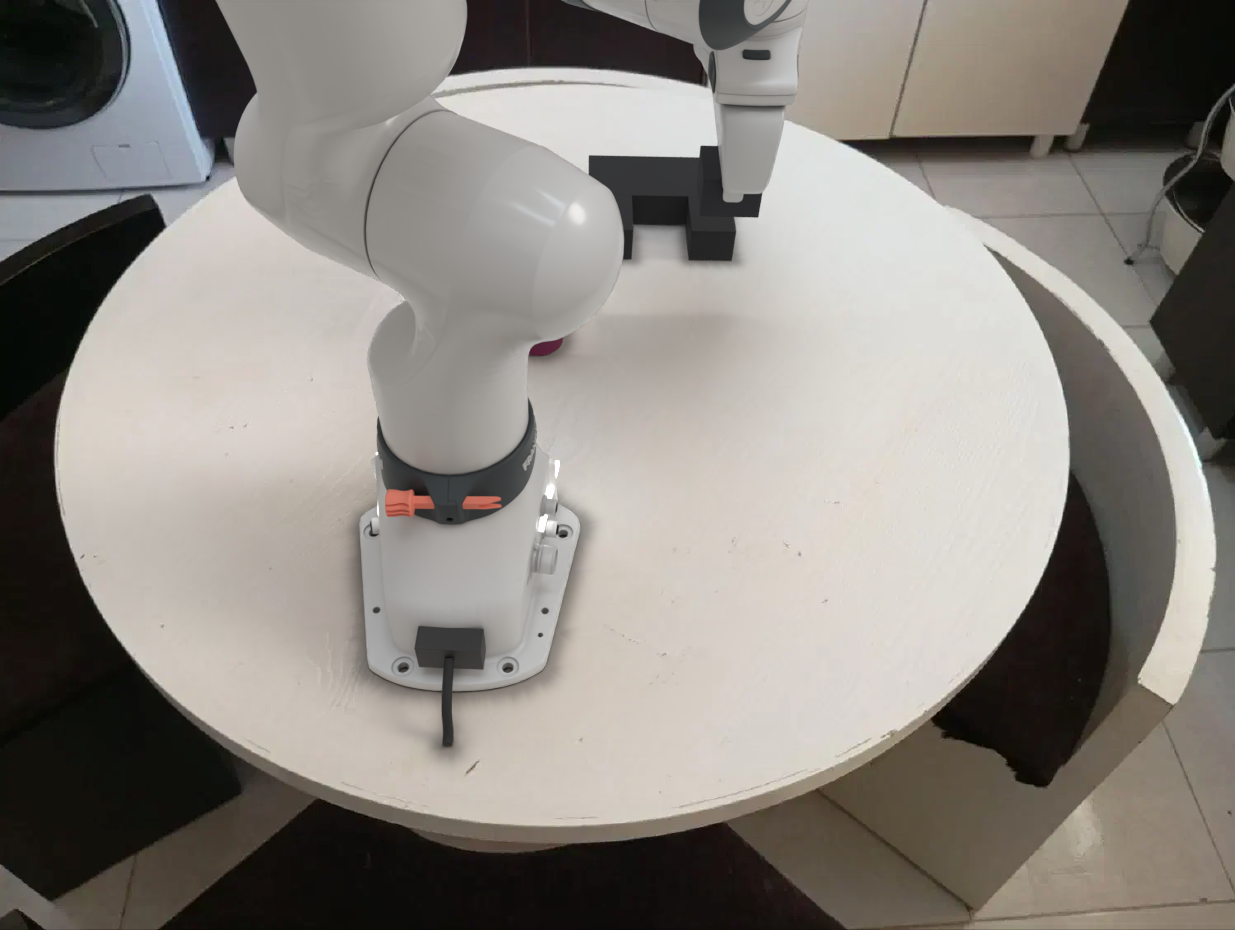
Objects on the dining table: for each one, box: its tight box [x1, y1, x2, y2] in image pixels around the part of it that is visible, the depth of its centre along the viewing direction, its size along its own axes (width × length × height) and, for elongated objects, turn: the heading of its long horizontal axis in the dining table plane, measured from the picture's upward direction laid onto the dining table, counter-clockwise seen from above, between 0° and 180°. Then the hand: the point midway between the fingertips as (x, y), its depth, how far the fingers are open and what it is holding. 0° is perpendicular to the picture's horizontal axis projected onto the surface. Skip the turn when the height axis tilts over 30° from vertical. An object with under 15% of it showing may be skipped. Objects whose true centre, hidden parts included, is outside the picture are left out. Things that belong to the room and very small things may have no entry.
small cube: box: [697, 145, 764, 219], centre depth 93 cm, size 6×6×4 cm
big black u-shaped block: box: [588, 154, 737, 262], centre depth 113 cm, size 14×16×4 cm
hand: (729, 176), depth 92 cm, fingers closed on small cube, 5 cm apart
